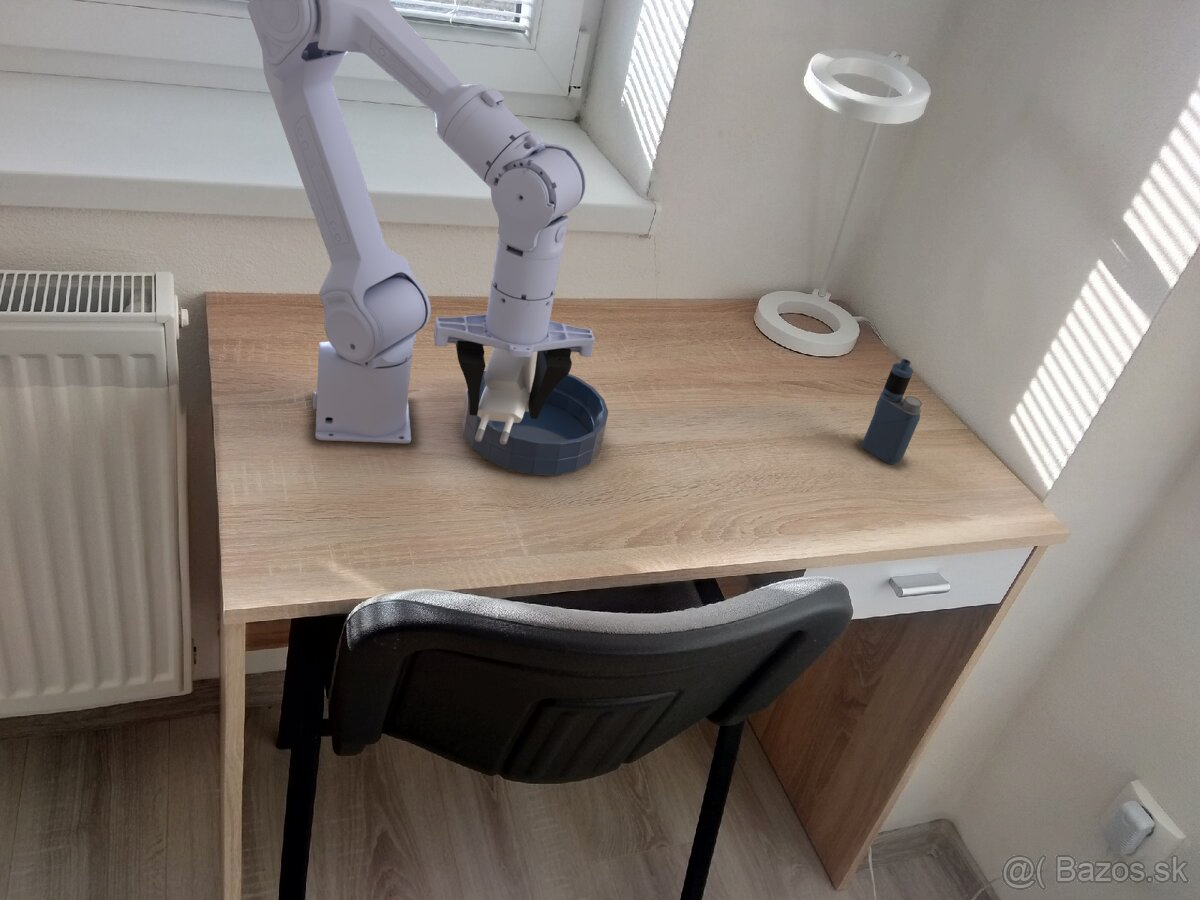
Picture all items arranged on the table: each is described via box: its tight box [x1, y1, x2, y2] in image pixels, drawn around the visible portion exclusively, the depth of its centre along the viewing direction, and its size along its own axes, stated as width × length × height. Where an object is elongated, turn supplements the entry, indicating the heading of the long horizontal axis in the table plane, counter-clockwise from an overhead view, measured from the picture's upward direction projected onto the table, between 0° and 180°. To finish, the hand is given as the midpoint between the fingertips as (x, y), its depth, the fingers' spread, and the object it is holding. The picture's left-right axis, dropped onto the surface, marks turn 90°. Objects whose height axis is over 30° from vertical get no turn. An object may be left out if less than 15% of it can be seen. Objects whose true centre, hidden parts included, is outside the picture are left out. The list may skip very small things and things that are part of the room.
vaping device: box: [860, 358, 923, 465], centre depth 120 cm, size 3×5×12 cm, turn 45°
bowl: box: [461, 370, 609, 476], centre depth 112 cm, size 15×15×4 cm
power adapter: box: [475, 347, 537, 445], centre depth 101 cm, size 11×5×6 cm
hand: (502, 411), depth 101 cm, fingers closed on power adapter, 5 cm apart
